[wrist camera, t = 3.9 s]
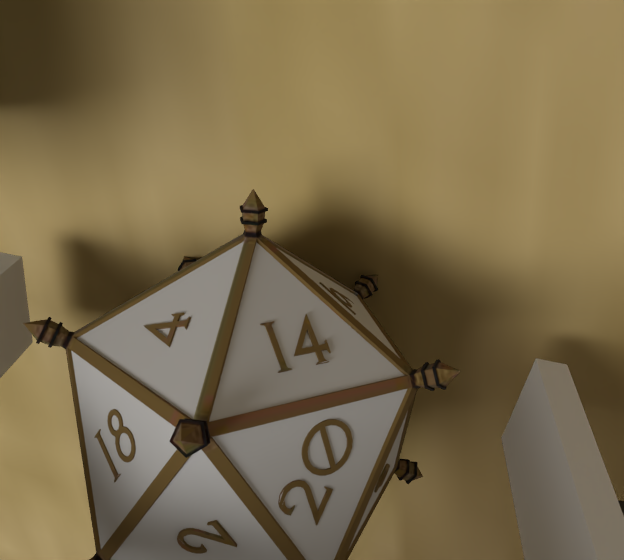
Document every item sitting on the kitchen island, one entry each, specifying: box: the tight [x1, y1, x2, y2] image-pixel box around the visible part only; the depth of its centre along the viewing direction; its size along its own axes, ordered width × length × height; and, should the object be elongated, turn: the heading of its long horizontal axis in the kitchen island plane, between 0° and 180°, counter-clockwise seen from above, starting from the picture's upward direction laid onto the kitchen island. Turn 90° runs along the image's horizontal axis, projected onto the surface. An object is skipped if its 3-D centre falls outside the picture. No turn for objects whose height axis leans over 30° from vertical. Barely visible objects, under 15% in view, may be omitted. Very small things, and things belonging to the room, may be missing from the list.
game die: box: [23, 189, 461, 560], centre depth 13 cm, size 9×8×10 cm
